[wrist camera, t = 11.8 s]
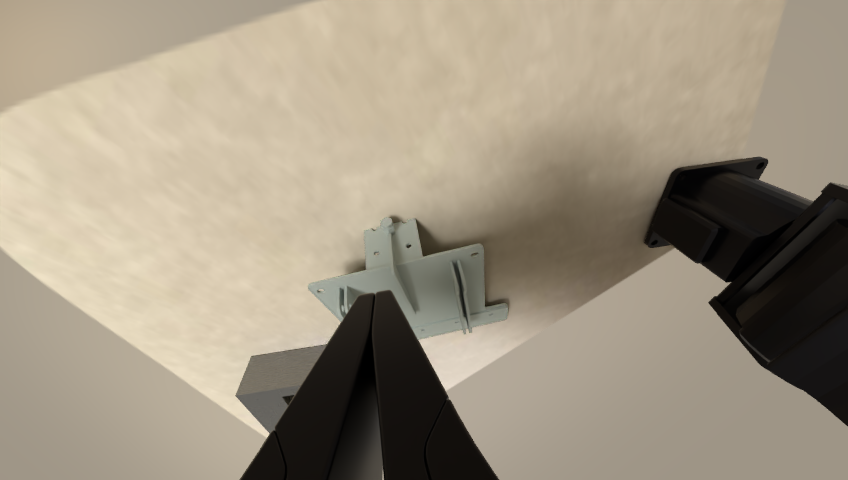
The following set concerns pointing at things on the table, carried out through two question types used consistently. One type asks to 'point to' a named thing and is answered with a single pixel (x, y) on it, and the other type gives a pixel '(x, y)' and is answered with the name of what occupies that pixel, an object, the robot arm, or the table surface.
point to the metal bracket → (417, 282)
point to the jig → (275, 382)
